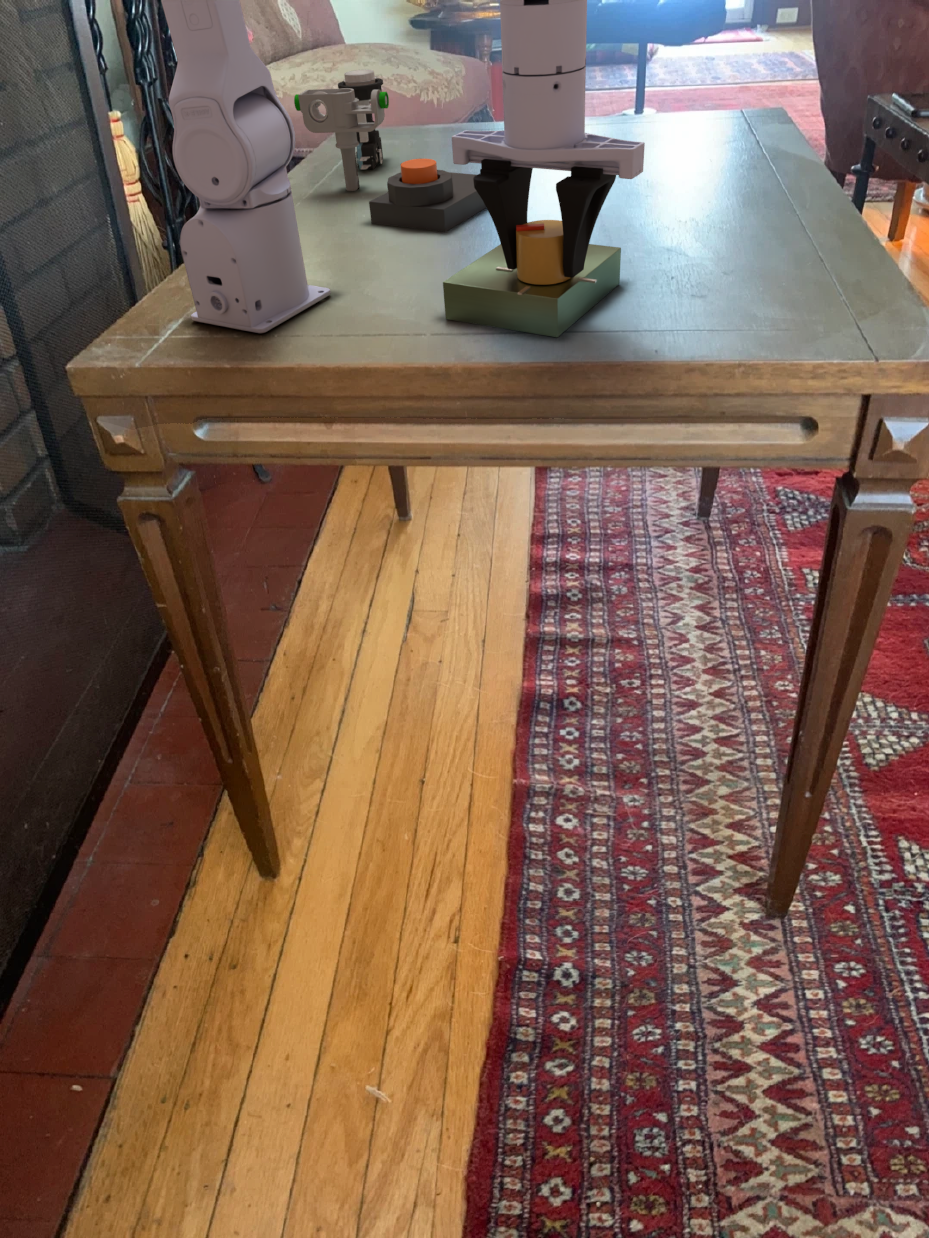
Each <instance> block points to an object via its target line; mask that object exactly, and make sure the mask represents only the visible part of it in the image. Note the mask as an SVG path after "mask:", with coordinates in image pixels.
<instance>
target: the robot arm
mask: <svg viewBox="0 0 929 1238" xmlns="http://www.w3.org/2000/svg"><path fill="white" fill-rule="evenodd" d="M160 2H161V6H162V9H163V13H164V17H165V20H166V23H167V27H168V30H169V34H170V37H171V42H172V46H173V48H174V53H175V56H176V58H177V65H176V69H175V73H174V77H173V80H172V85H171V88H170V92H169V95H168V105H169V108H170V112H171V116H172V120H173V131H174V132H173V139H172V140H173V141H172V159H173V163H174V166H175V169H176V171H177V173H178V176H179V178H180V180H181V181H182V183H183V184H184V185H185V187H186V188H187V189H188V190H189V191H190V192H191V193H192V194H193V195H194V196H195V197H197V199H198V200H199V201H198V202H199V208H198V211H197V212H196V214H194V216H193V217H191V218H189V220H188V221H186V222H185V223H184V224H183V226H182V228H181V232H180V236H179V245H180V251H181V257H182V260H183V264H184V268H185V271H186V276H187V280H188V283H189V287H190V292H191V296H192V299H193V303H194V307H195V310H196V311H195V312H193V313H191V314H190V318H191V321H193V322H198V323H204V324H207V325H213V326H218V327H219V326H220V327H223V328H229V329H235V330H239V331H244V332H250V333H254V334H265V333H267V332H268V331H271V330H272V329H274V328H276V327H278V326H280V324H283V323H284V322H286V321H287V320H289V319H291V318H293V317H294V316H296V315H298V314H300V313H301V312H303V311H305V310H307V309H308V308H310V307H312V306H314V305H315V304H316V303H318V302H320V301H322V300H324V299H325V298H327V297H329V296H330V295H331V294H332V292H331V289H330V288H329V287H326V286H325V287H323V286H317V285H312V284H308V278H307V273H306V267H305V261H304V256H303V255H304V254H303V250H302V243H301V238H300V233H299V226H298V221H297V215H296V209H295V202H294V197H293V191H292V185H291V181H290V179H289V175H288V169H287V166H288V165H289V164H290V162H291V160H292V158H293V156H294V154H295V149H296V131H295V126H294V123H293V120H292V118H291V116H290V114H289V112H288V111H287V109H286V108H285V106H284V105H283V103H282V102H281V101H280V99H279V96H278V95H277V92H276V90H275V86H274V83H273V78H272V74H271V72H270V70H269V68H268V67H267V66H266V64H265V63H264V62H263V60H262V59H260V57H259V56H258V54H257V53H256V52H255V50H253V48H252V47H251V43H250V39H249V35H248V30H247V26H246V22H245V17H244V14H243V8H242V4H241V0H160ZM499 11H500V12H499V14H500V42H501V43H500V44H501V45H500V46H501V70H502V71H501V75H502V103H503V107H502V108H503V130H467V129H465V130H463V131H460V132H458V133H457V134H454V135H451V145H452V146H451V149H452V163H453V165H459V166H464V165H465V166H466V165H468V164H469V163H470V164H471V163H472V164H480V166H481V168H480V169H479V173H478V174H475V175H476V176H474V178H473V182H474V188H475V190H476V191H477V192H478V194H479V196H480V197H481V199H482V200H483V202H484V204H485V206H486V208H485V209H487V212H488V213H489V215H490V218H491V221H492V222H493V226H494V228H495V230H496V234H497V237H498V239H499V242H500V244H501V246H502V249H503V253H504V257H505V260H506V264H507V268H508V269H513V270H515V269H516V268H517V254H516V225H522V224H525V223H528V209H529V197H530V188H531V182H532V181H531V180H532V174H533V169H540V170H554V171H564V172H565V171H566V172H570V176H566V177H564V178H563V179H561V180H559V181H558V182H556V183H555V191H556V196H557V200H558V204H559V210H560V217H561V221H562V226H563V270H564V277H570V278H573V277H575V276H576V275H577V274H579V273H580V272H581V271H582V270H584V264H585V259H586V254H587V250H588V246H589V244H590V242H591V238H592V235H593V231H594V229H595V225H596V223H597V220H598V218H599V215H600V212H601V210H602V208H603V205H604V203H605V201H606V200H607V197H608V195H609V193H610V191H611V189H612V187H613V185H614V184H615V182H616V179H617V176H618V178H619V179H624V180H633V179H635V178H637V177H638V176H640V175H641V174H642V173H643V172H644V162H645V142H644V141H635V140H633V141H632V140H625V139H620V138H615V137H609V136H605V135H598V134H595V133H594V134H593V133H589V132H586V128H585V127H586V81H587V80H586V78H587V77H586V75H587V74H586V73H587V72H586V70H587V28H588V0H499Z"/></svg>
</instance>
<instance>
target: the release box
mask: <svg viewBox="0 0 929 1238" xmlns="http://www.w3.org/2000/svg"><path fill="white" fill-rule="evenodd" d="M476 175H477V174H472V173H462V172H451V171H445V170H443V169H437V177H438V180H436V181H432V182H428V183H421V184H408V183H402V175H401V172H398V173H396V174H393V175H391V176H390V177H388V178H387V182H386V186H387V191H386V192H385V193H383V194H381V195H379V196H377V197H375V198H373V199H371V200H369V201H368V207H369V214H370V223H371V224H374V225H375V224H376V225H384V226H393V227H402V228H409V229H418V230H427V231H435V232H443V233H444V232H448V231H449V230H451V229H453V228H455V227H456V226H458V225H460V224H461V223H463V222H464V221H467V220H468V219H470V218H472V217H473V216H475V215H477V214H478V213H480V212H482V211H483V210H486V209H487V208H486V206H485V204H484V202H483V200H482V199H481V197H480V196H479V194H478V192H477V191H476V190H475V188H474V182H473V178H474V176H476Z"/></svg>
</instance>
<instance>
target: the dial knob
mask: <svg viewBox="0 0 929 1238" xmlns="http://www.w3.org/2000/svg"><path fill="white" fill-rule="evenodd" d="M516 254H517V277H518V279H519V280H521V281H523V282H525V283H529V284H535V285H549V284H556V283H561V282H564V281H566V280H568V279H570V277H564V270H563V226H562V220H559V219H540V220H539V219H538V220H532V221H527V223H525V224H522V225H516Z"/></svg>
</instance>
